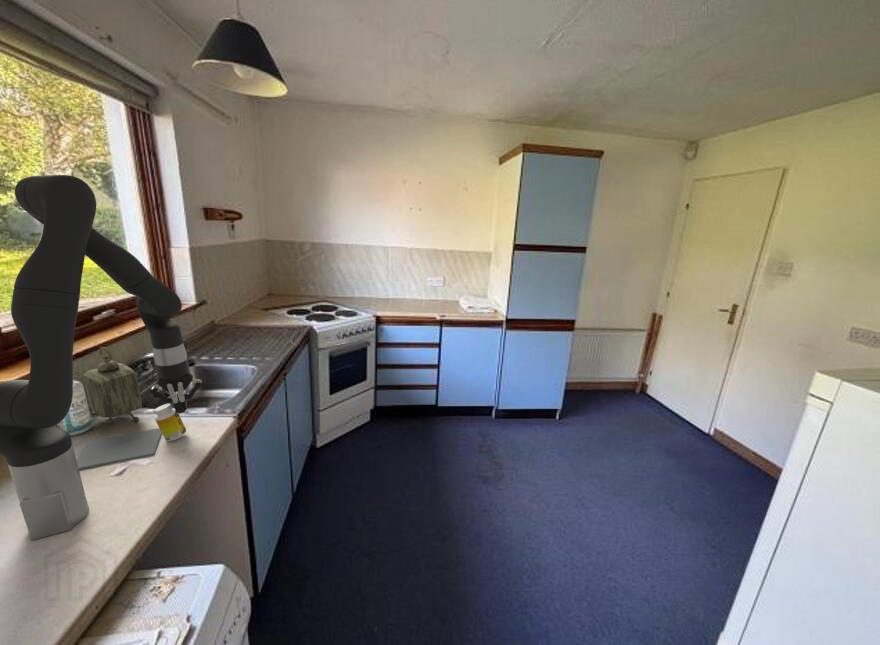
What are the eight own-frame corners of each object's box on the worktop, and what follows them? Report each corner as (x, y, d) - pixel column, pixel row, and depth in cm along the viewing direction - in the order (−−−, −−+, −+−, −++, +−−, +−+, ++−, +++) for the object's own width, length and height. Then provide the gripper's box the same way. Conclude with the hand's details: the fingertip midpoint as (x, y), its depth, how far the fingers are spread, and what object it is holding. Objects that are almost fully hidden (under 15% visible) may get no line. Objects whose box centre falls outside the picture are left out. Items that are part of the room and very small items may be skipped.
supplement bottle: (188, 434, 110) (173, 405, 106) (166, 444, 106) (151, 414, 103) (186, 428, 114) (172, 400, 111) (165, 437, 111) (150, 408, 108)
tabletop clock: (145, 421, 118) (132, 349, 111) (110, 434, 110) (93, 357, 103) (124, 408, 125) (110, 339, 118) (90, 419, 117) (73, 346, 110)
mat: (154, 454, 102) (153, 453, 102) (70, 471, 94) (69, 469, 94) (163, 429, 114) (163, 427, 114) (89, 441, 106) (89, 440, 106)
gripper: (138, 368, 98) (152, 423, 104) (196, 360, 104) (206, 413, 109) (145, 357, 104) (157, 410, 110) (199, 351, 110) (208, 401, 116)
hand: (182, 411), depth 110 cm, fingers closed
